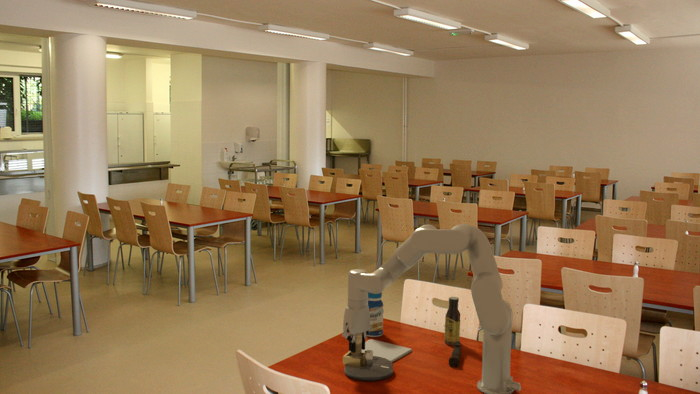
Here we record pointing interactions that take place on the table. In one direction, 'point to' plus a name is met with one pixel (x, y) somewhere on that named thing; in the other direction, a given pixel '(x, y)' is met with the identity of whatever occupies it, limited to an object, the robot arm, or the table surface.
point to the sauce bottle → (452, 322)
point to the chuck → (367, 366)
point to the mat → (386, 350)
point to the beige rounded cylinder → (358, 346)
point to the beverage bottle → (375, 314)
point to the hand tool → (455, 355)
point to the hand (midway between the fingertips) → (356, 349)
